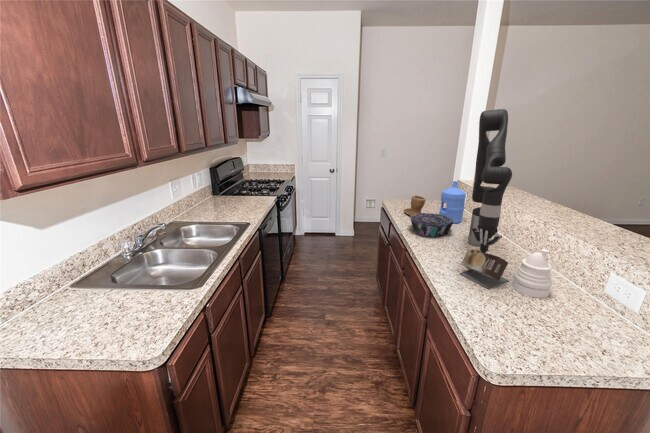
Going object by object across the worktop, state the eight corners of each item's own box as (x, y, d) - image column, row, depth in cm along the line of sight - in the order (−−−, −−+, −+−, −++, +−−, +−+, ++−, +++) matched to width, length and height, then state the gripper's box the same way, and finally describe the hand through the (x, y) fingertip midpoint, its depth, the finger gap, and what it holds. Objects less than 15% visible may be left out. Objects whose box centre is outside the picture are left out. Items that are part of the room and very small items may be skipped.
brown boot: (426, 217, 207) (428, 197, 203) (411, 218, 205) (413, 198, 201) (416, 211, 222) (418, 193, 217) (402, 212, 220) (404, 194, 215)
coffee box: (468, 247, 131) (500, 255, 116) (477, 252, 133) (509, 262, 118) (459, 264, 131) (490, 275, 116) (468, 270, 133) (499, 281, 118)
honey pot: (542, 283, 121) (552, 245, 116) (554, 300, 110) (566, 259, 104) (508, 278, 125) (516, 241, 120) (516, 294, 114) (525, 254, 108)
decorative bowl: (459, 234, 180) (462, 219, 178) (436, 242, 163) (438, 226, 161) (424, 224, 199) (426, 210, 197) (399, 230, 183) (401, 215, 180)
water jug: (463, 219, 203) (469, 180, 195) (460, 225, 191) (466, 184, 182) (440, 215, 211) (445, 178, 203) (436, 221, 199) (440, 182, 190)
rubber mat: (480, 267, 135) (480, 266, 135) (509, 281, 123) (509, 280, 123) (459, 274, 130) (459, 272, 129) (487, 289, 117) (487, 288, 117)
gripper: (511, 217, 115) (503, 256, 120) (481, 209, 126) (475, 245, 131) (499, 219, 112) (491, 259, 117) (469, 211, 123) (464, 248, 128)
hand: (483, 251), depth 124 cm, fingers closed
